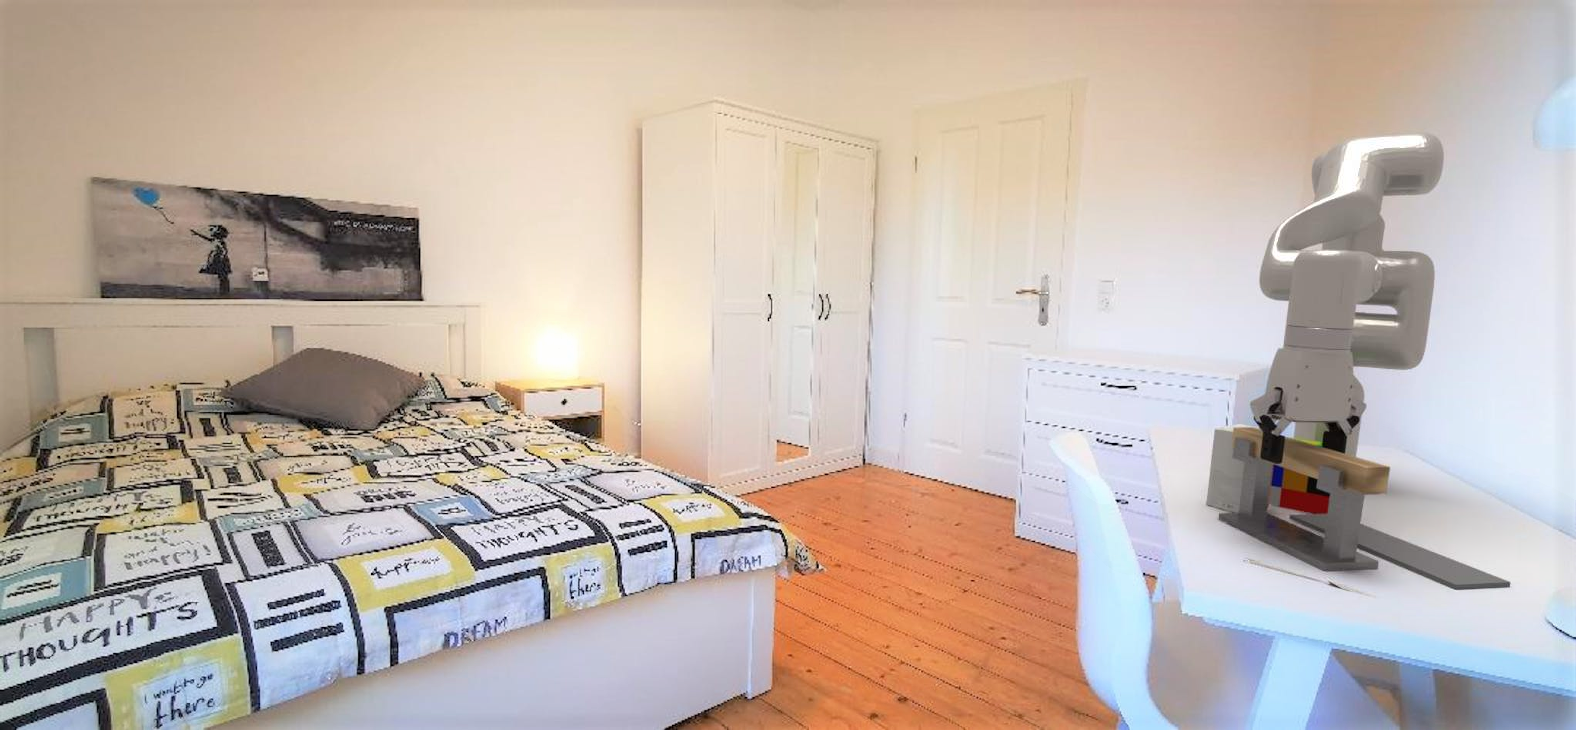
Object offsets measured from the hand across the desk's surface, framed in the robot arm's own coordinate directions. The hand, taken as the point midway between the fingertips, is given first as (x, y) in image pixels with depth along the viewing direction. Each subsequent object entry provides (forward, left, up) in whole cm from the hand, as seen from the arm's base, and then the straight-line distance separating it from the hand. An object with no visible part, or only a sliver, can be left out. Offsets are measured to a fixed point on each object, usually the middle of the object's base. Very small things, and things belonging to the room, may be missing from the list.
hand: (1301, 461), depth 102 cm
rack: (0, 0, -12) cm, 12 cm away
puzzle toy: (-16, -16, -12) cm, 26 cm away
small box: (-4, -15, -12) cm, 20 cm away
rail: (0, 0, -1) cm, 1 cm away
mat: (-12, +3, -12) cm, 17 cm away
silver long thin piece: (+7, +13, -13) cm, 19 cm away
